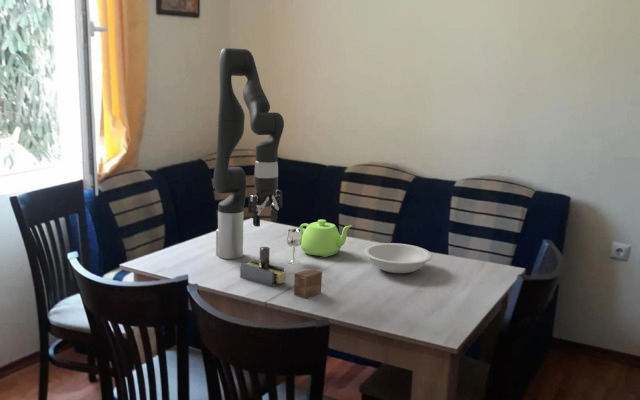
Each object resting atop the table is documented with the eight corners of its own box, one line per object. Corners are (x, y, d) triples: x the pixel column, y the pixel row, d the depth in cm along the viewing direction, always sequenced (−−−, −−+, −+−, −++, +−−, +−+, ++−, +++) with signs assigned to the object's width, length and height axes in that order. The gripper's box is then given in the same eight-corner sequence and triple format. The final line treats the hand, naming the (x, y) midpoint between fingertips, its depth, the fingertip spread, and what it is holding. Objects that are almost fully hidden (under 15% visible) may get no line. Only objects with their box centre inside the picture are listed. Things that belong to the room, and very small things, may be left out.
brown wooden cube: (294, 294, 202) (294, 273, 200) (307, 288, 207) (308, 268, 206) (307, 298, 198) (308, 277, 197) (321, 292, 204) (321, 271, 202)
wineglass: (299, 265, 230) (300, 233, 228) (283, 263, 231) (284, 231, 229) (302, 260, 236) (303, 229, 233) (287, 258, 237) (288, 227, 234)
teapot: (357, 253, 248) (358, 220, 245) (342, 263, 234) (344, 229, 231) (305, 244, 256) (306, 212, 253) (289, 254, 243) (290, 220, 240)
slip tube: (243, 272, 216) (243, 244, 214) (249, 270, 219) (249, 242, 217) (279, 283, 207) (280, 254, 205) (285, 281, 210) (286, 252, 207)
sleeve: (240, 277, 215) (240, 263, 214) (252, 272, 220) (252, 259, 219) (272, 286, 207) (272, 272, 206) (283, 282, 212) (284, 267, 211)
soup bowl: (368, 257, 243) (368, 240, 241) (431, 263, 238) (433, 246, 237) (358, 277, 220) (359, 259, 218) (429, 284, 215) (430, 266, 214)
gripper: (271, 170, 213) (270, 217, 217) (242, 176, 202) (241, 225, 206) (289, 173, 209) (287, 221, 213) (260, 179, 198) (259, 230, 201)
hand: (265, 223), depth 209 cm, fingers open, 8 cm apart
